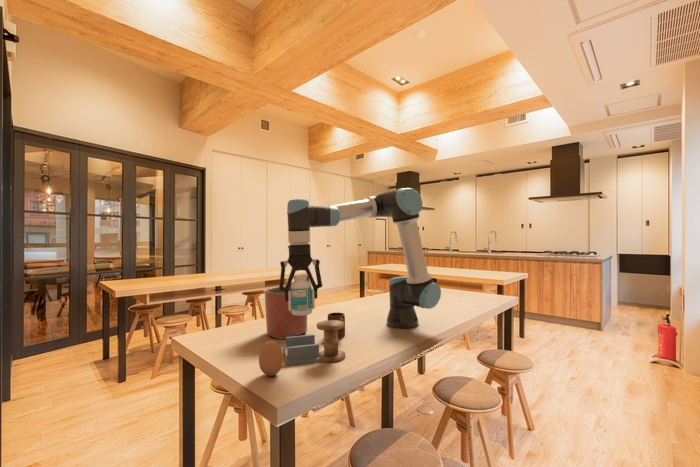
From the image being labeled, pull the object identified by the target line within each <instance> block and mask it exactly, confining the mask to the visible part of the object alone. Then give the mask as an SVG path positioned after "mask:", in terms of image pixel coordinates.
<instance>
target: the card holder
mask: <svg viewBox="0 0 700 467" xmlns="http://www.w3.org/2000/svg"><path fill="white" fill-rule="evenodd" d="M315 336H316V335H315V333H313V334H304V335H303V334H301V335H296V336H290V337H286V338H285V344H284V353H285V361H286V367H287V366H289V367H290V366H297V365H305V364H313V363H321V362H322V359H321V356H320V355H319V354H320V353H319V352H320V344H319V343H316V340H315ZM318 356H319V357H318ZM322 363H323V362H322Z"/></svg>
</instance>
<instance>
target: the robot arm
mask: <svg viewBox="0 0 700 467" xmlns="http://www.w3.org/2000/svg"><path fill="white" fill-rule="evenodd" d="M286 207H287V209H286V210H287V211H286V212H287V213H286V215H287V229H288V230H287V235H288V236H287V237H288V240H287V241H288V244H289V245H288V258H287V260H283V261H280V263H279V264H280V267H281V268H280V277H279V285H278V287H279V289H280V290H281V291H284V292H285V301H288V309H289V311H291V292H290V291H289V288H290V285H291V283H292V282H293V280H294V275H296V273H297V272H299V271H305V274H306V275H307V278H308V281H309V282H310V283H311V287H312V288H311V289H312V310H313V309H314V310H315V308H316V305H315V304H316V303H315V300H316V299H318V290H319V289H320V288H323V281H322V276H321V270H320V262H321V261H320V259H317V258H316V259H315V258H312V256H311V253H312V252H311V244H310V243H311V232H310V231H311V228H321V227H324V228H325V227H329V228H331V227H336V226H337V225H339V223H340V222H344V221H350V220H356V219H361V218H367V217H368V218H370V219H371V218H372V219H373V218H380V217H381V218H392V222H393V223H394V224H395V225H396V226H397V230H398V233H399V234H398V235H399V238H400V242H401V243H400V244H401V248H402V252H403V257H404V262H405V265H406V269H407V273H408V274H407V275H405V276H395V277H391V278H390V279H389V285H388V288H389V289H388V290H389V310H388V314H387V317H386V325H387V326H389V327H391V328H396V329H410V328H411V329H412V328H414V327H415V328H416V327H418V325H419V318H418V316H417V311H416V309H415V307H419V308H421V309H428V310H429V309H433V308H435V307H436V306H437V305H438V303H439V302H440V300H441V296H442V289H441V286H440V285H439V284H438V283H436V282H434V279H433V275H432V274H431V273H429V272H428V266H427V263H426V258H425V253H424V250H423V249H424V248H423V244H422V239H421V235H420V228H419V226H418V225H419V224H418V220H419V218H420V213H421V211H422V207H423V199H422V196H421V194H420V193H419V192H418V190H415V189H414V188H412V187H405V188H404V187H402V188H398V189H395V190H388V191H385V192H382V193H379V194H376V195H372V196H367V197H366V198H365V199H362V200H355V201H349V202H343V203H337V204H331V205H310V202H309V200H308V199H304V198H303V199H301V198H300V199H299V198H298V199H297V198H295V199H291V200H288V202H287V206H286ZM288 264H289V266H290V267H291V269H290V273H289V276H288V278H287V280H286V281H287V282H286V283H285V275H286V268H287V266H288ZM311 264H313V266H314V271H315V276H316V282H317V284H316V282H315V279H314V276H313V275H312V272H311V270H310V265H311ZM284 284H285V285H284ZM283 286H285V287H283Z"/></svg>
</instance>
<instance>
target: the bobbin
mask: <svg viewBox="0 0 700 467" xmlns="http://www.w3.org/2000/svg"><path fill="white" fill-rule="evenodd" d="M344 326H345V327H346V323H345V324H344V322H342V321H338V320H328V319H327V320H322V321H318V322H317V323H316V328H317V329H318V330H320V331H323V345H324V346H323V347H324V349H323V350H322V351H319V353H320V354H319V355H320V356H321V359H322V363H327V364H328V363H329V364H331V363H332V364H333V363H339V362H341V361H343V360H344V359H345V358H346V352H345V351H343V350H341V349H339V338H338V330H339V329H342V328H344ZM318 357H319V356H318Z"/></svg>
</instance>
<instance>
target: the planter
mask: <svg viewBox="0 0 700 467" xmlns="http://www.w3.org/2000/svg"><path fill="white" fill-rule="evenodd" d="M285 286H286V285H283V287H285ZM289 291H290V288H289ZM264 302H265V303H264V306H265V307H264V308H265V319H266V321H265V322H266V324H265V325H266V333H267V335H268V336H269V337H273V338H276V339H278V340H282V341H283V340H286V337H292V336H301V335H303V334H304V335H307V331H308V315H303V316H296V315H293V314H292V313H291V311H289V309H288V301H285V292H284V291H281V290H280V289H279V286H277V287H276V286H275V287H270V288H266V289H265V290H264Z"/></svg>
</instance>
